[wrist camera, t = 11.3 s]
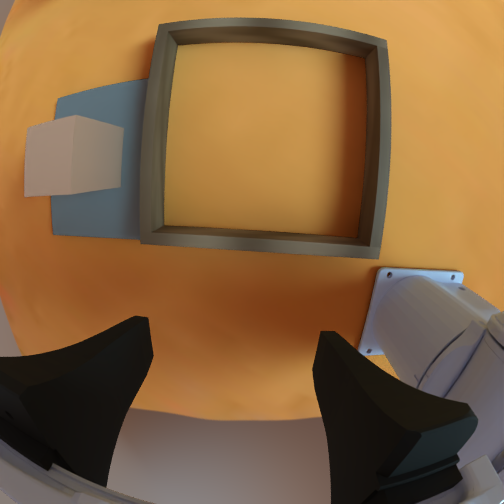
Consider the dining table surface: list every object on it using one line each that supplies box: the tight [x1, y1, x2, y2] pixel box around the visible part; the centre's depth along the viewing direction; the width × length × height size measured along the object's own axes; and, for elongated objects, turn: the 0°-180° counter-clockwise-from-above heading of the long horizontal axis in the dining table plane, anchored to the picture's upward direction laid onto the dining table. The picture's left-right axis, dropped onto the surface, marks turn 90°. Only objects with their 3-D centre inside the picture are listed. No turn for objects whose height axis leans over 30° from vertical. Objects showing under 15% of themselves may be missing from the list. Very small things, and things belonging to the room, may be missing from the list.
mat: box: [51, 78, 149, 240], centre depth 17 cm, size 10×12×1 cm
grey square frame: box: [140, 18, 391, 259], centre depth 16 cm, size 16×16×2 cm
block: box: [24, 115, 124, 197], centre depth 14 cm, size 4×4×6 cm
